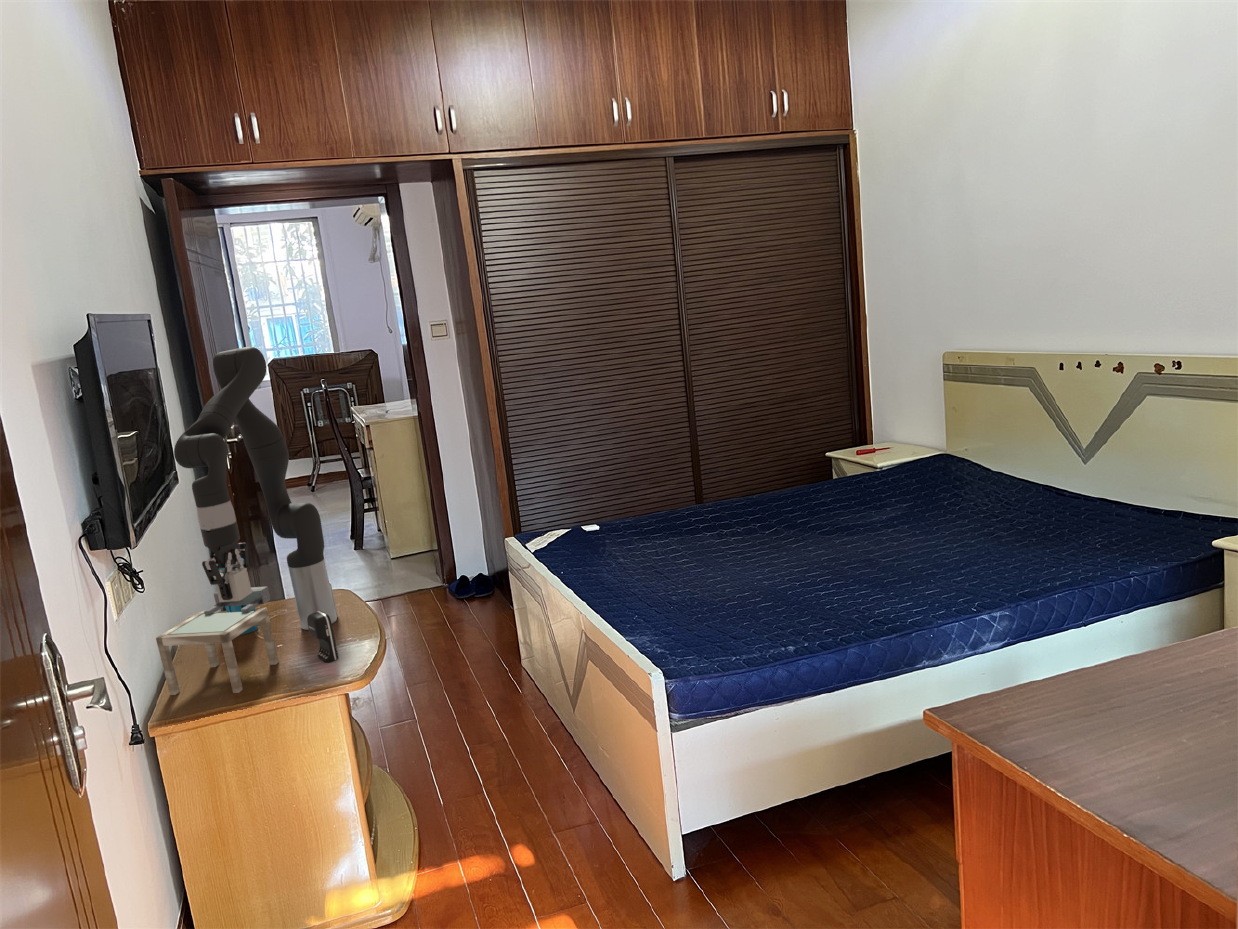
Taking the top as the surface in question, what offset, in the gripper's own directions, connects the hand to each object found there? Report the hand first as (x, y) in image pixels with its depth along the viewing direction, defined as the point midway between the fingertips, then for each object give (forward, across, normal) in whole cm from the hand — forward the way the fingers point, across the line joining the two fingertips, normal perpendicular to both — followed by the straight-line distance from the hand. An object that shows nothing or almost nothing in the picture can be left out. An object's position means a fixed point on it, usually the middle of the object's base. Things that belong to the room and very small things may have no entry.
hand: (235, 594), depth 204 cm
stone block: (+1, 0, 0) cm, 1 cm away
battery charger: (+21, -10, +12) cm, 27 cm away
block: (+22, -34, -24) cm, 47 cm away
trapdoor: (+8, -6, -9) cm, 14 cm away
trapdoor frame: (+21, -2, -9) cm, 23 cm away
